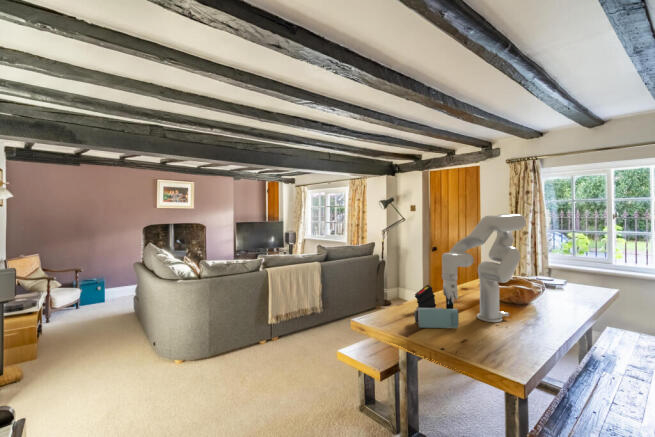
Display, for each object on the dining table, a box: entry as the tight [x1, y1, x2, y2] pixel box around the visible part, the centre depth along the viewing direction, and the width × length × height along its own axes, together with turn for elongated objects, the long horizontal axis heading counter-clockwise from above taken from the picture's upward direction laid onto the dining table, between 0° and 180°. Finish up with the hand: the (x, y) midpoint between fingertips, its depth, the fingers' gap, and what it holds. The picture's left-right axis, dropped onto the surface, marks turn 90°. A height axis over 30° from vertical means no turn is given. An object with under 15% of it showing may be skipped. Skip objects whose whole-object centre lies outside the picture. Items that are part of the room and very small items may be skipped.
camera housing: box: [413, 307, 444, 325], centre depth 161 cm, size 15×7×8 cm, turn 85°
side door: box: [417, 308, 460, 329], centre depth 156 cm, size 20×2×10 cm, turn 85°
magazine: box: [414, 284, 437, 308], centre depth 183 cm, size 4×13×15 cm, turn 113°
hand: (449, 310), depth 161 cm, fingers closed
